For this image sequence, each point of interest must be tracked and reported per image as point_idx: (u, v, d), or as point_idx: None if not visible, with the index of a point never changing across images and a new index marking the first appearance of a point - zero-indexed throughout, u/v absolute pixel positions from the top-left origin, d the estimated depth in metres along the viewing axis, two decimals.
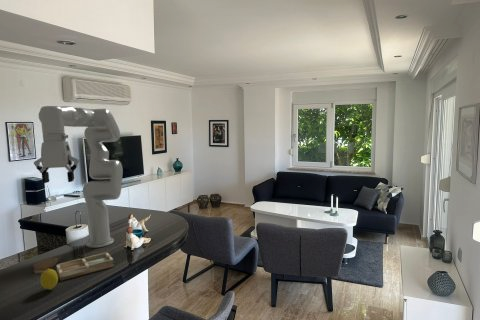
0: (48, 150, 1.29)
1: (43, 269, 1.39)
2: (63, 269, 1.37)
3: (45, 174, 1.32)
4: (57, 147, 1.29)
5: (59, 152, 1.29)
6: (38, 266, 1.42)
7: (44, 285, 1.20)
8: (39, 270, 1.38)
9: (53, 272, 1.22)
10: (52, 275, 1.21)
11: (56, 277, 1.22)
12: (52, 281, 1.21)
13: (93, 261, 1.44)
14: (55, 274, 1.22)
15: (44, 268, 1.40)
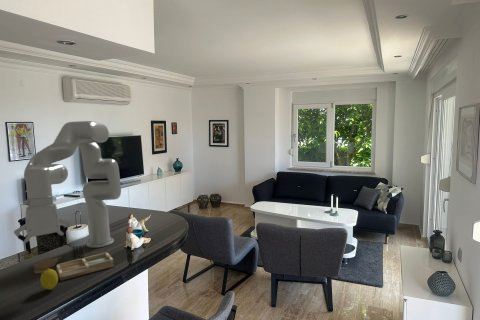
0: None
1: (43, 269, 1.39)
2: (63, 269, 1.37)
3: (58, 236, 1.23)
4: None
5: None
6: (38, 266, 1.42)
7: (44, 285, 1.20)
8: (39, 270, 1.38)
9: (53, 272, 1.22)
10: (52, 275, 1.21)
11: (56, 277, 1.22)
12: (52, 281, 1.21)
13: (93, 261, 1.44)
14: (55, 274, 1.22)
15: (44, 268, 1.40)
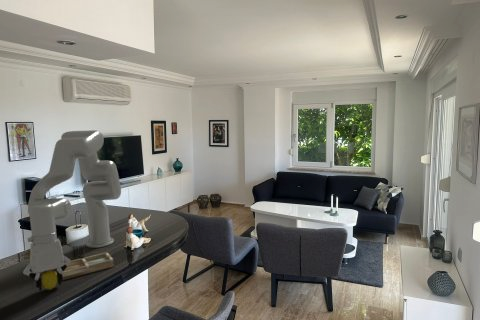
0: None
1: None
2: None
3: (57, 274, 1.24)
4: None
5: None
6: None
7: (44, 285, 1.20)
8: None
9: (53, 272, 1.22)
10: (52, 275, 1.21)
11: (56, 277, 1.22)
12: (52, 281, 1.21)
13: (93, 261, 1.44)
14: (55, 274, 1.22)
15: None
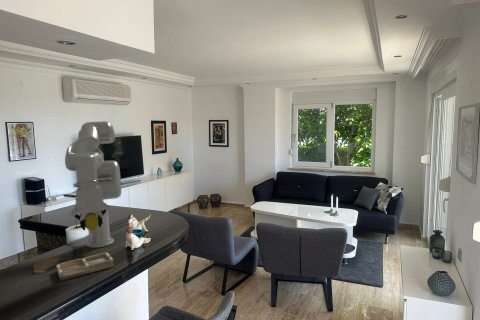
0: None
1: (42, 269, 1.39)
2: (63, 269, 1.37)
3: None
4: None
5: None
6: (38, 266, 1.42)
7: (87, 225, 1.37)
8: (38, 270, 1.38)
9: (95, 215, 1.39)
10: (94, 217, 1.38)
11: (97, 219, 1.39)
12: (94, 222, 1.38)
13: (93, 261, 1.44)
14: (96, 217, 1.39)
15: (43, 268, 1.40)
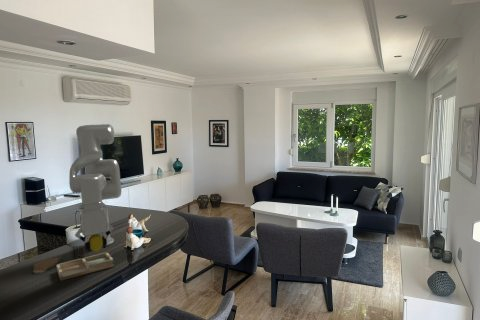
0: None
1: (42, 269, 1.39)
2: (63, 269, 1.37)
3: None
4: None
5: None
6: (38, 266, 1.42)
7: (92, 247, 1.39)
8: (38, 270, 1.38)
9: (99, 236, 1.41)
10: (99, 238, 1.40)
11: (102, 241, 1.41)
12: (99, 243, 1.39)
13: (93, 261, 1.44)
14: (101, 238, 1.41)
15: (43, 268, 1.40)
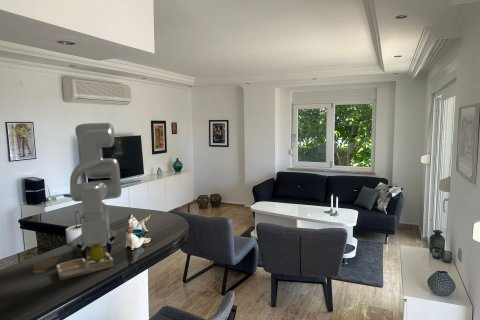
0: None
1: (42, 269, 1.39)
2: (63, 269, 1.37)
3: (106, 244, 1.45)
4: None
5: None
6: (38, 266, 1.42)
7: (93, 257, 1.40)
8: (38, 270, 1.38)
9: (100, 247, 1.42)
10: (100, 249, 1.41)
11: (103, 251, 1.42)
12: (100, 254, 1.40)
13: (93, 261, 1.44)
14: (102, 248, 1.42)
15: (43, 268, 1.40)
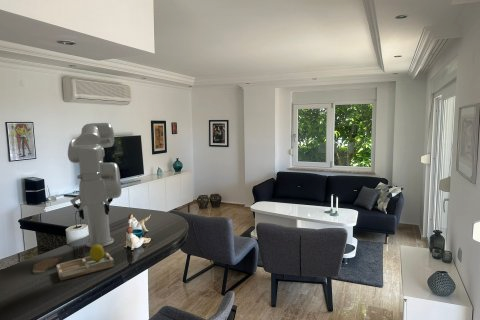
0: None
1: (42, 269, 1.39)
2: (63, 269, 1.37)
3: (104, 206, 1.46)
4: None
5: None
6: (38, 266, 1.42)
7: (93, 258, 1.40)
8: (38, 270, 1.38)
9: (100, 247, 1.41)
10: (100, 249, 1.41)
11: (103, 251, 1.42)
12: (100, 254, 1.40)
13: (93, 261, 1.44)
14: (102, 248, 1.42)
15: (43, 268, 1.40)
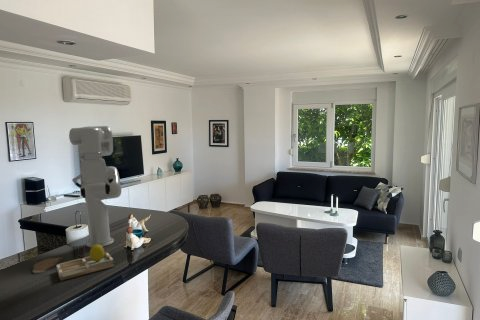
0: None
1: (42, 269, 1.39)
2: (63, 269, 1.37)
3: (105, 186, 1.50)
4: None
5: None
6: (38, 266, 1.42)
7: (93, 258, 1.40)
8: (38, 270, 1.38)
9: (100, 247, 1.41)
10: (100, 249, 1.41)
11: (103, 251, 1.42)
12: (100, 254, 1.40)
13: (93, 261, 1.44)
14: (102, 248, 1.42)
15: (43, 268, 1.40)
